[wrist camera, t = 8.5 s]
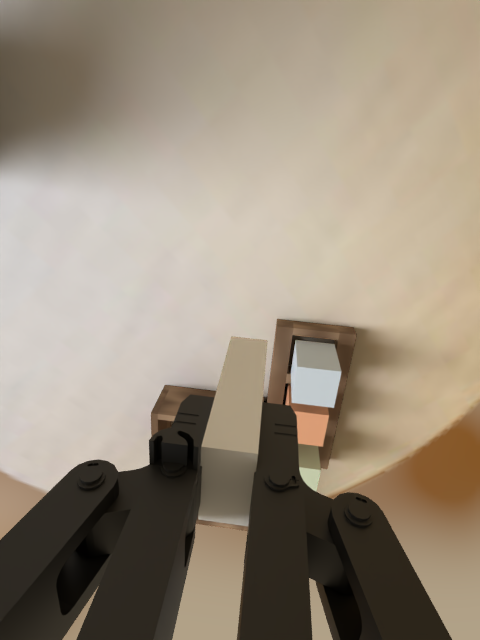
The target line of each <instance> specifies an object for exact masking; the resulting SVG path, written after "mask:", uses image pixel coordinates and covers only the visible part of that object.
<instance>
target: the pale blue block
mask: <svg viewBox="0 0 480 640" xmlns="http://www.w3.org/2000/svg"><path fill="white" fill-rule="evenodd" d="M341 372H342V371H341V368H340V364H339V360H338V356H337V352H336V348H335V344H329V343H320V342H311V341H302V340H296V341H295V347H294V354H293V361H292V367H291V397H292V403H298V404H306V405H314V406H323V407H331V408H334V405H335V401H336V396H337V391H338V386H339V382H340V377H341Z"/></svg>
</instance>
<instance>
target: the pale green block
mask: <svg viewBox="0 0 480 640" xmlns="http://www.w3.org/2000/svg"><path fill="white" fill-rule="evenodd" d="M298 452H299V470H300V475H301V477H302V479H303V481H304V482H305V483H306V484H307V485H308V486H309V487H310V488H311V489H313V490H314V491H317V486H318V481H319V477H320V472H321V467H320V458H319V450H318V446H313V445H306V444H298Z"/></svg>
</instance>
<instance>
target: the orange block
mask: <svg viewBox="0 0 480 640" xmlns="http://www.w3.org/2000/svg"><path fill="white" fill-rule="evenodd" d="M285 405H290V406H291V408H292V409H293V411H294V412H295V414H296V415H297V432H298V444H306V445H313V446H321V447H323V443H324V438H325V433H326V428H327V423H328V418H329V412H328V407H323V406H314V405H306V404H298V403H292V397H291V384H289V383H288V387H287V394H286V400H285Z"/></svg>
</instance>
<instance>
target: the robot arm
mask: <svg viewBox="0 0 480 640" xmlns="http://www.w3.org/2000/svg"><path fill="white" fill-rule="evenodd" d="M266 352H267V340H259V339H250V338H241V337H232V336H231V340H230V344H229V347H228V351H227V355H226V358H225V362H224V366H223V369H222V373H221V376H220V380H219V384H218V387H217V391H216V395H215V397H208V396H200V395H192V394H190V395H189V396H188V397H187V398H186V399H184V400H183V401H182V402H181V404H180V407H179V409H178V412H177V414H176V417H175V419H174V423H173V424H172V427H170V428H166V429H162V430H160V431H159V432H157V433H155V434H154V435H153V436H152V437H151V439H150V440H149V455H150V464H149V465H148V466H146V467H143V468H141V469H136V470H130V471H123V472H118V471H117V469H116V467H115V466H114V465H113V464H111V463H110V462H108V461H104V460H91V461H87V462H84V463H82V464H79V465H78V466H76V467H75V468H73V469H72V470H71V471H70V472H69V473H68V474H67V475H66V476H65V477H64V478H63V479H62V480H61V481H59V482H58V483H57V484H56V485H55V486H54V487H53V488H52V489H51V490H50V491H49V492H48V493H47V494H46V495H45V496H44V497H43V499H42V500H40V501H39V502H38V503H37V504H36V505H35V506H34V507H33V508H32V509H31V510H30V511H29V512H28V513H27V514H26V515H25V516H24V517H23V518H22V519H21V520H20V521H19V522H18V523H17V524H16V525H15V526H14V527H13V528H12V529H11V530H10V531H9V532H8V533H7V534H6V535H5V536H4V537H3V538H2V539H1V540H0V640H62V639H63V637H64V636H65V635H66V633H67V632H68V630H69V629H70V627H71V626H72V624H73V623H74V621H75V620H76V618H77V617H78V615H79V614H80V612H81V611H82V609H83V608H84V606H85V605H86V603H87V602H88V601H89V599H90V598H91V596H92V595H93V593H94V592H95V590H96V589H97V587H98V586H99V587H98V589H97V592H96V594H95V596H94V599H93V602H92V604H91V606H90V608H89V611H88V614H87V616H86V618H85V620H84V623H83V625H82V628H81V631H80V633H79V635H78V637H77V640H172V638H173V633H174V628H175V624H176V620H177V615H178V610H179V606H180V601H181V597H182V593H183V588H184V584H185V579H186V575H187V570H188V566H189V562H190V557H191V552H192V548H193V544H194V539H195V525H196V520H197V516H198V519H199V520H206V521H213V522H220V523H227V524H234V525H241V526H248V535H247V542H246V551H245V559H244V572H243V583H242V593H241V604H240V615H239V624H238V634H237V640H312V625H311V609H310V590H309V578H311V579H313V580H315V581H316V585H317V588H318V592H319V595H320V598H321V602H322V605H323V608H324V612H325V615H326V619H327V622H328V625H329V628H330V632H331V635H332V638H333V640H452V639H451V637H450V635H449V633H448V631H447V629H446V628H445V626H444V624H443V622H442V620H441V618H440V616H439V615H438V613H437V611H436V609H435V607H434V605H433V604H432V602H431V600H430V598H429V596H428V594H427V593H426V591H425V589H424V587H423V585H422V584H421V581H420V580H419V578H418V576H417V574H416V572H415V570H414V569H413V567H412V565H411V563H410V561H409V559H408V557H407V555H406V554H405V552H404V550H403V548H402V546H401V544H400V543H399V541H398V539H397V537H396V535H395V533H394V532H393V530H392V528H391V526H390V524H389V523H388V520H387V518H386V517H385V515H384V513H383V511H382V510H381V509H380V508H379V506H378V505H377V504H376V503H375V502H373V501H372V500H370V499H369V498H368V497H366V496H363V495H360V494H358V493H349V492H348V493H344V494H340V495H338V496H337V497H336V498H335V499H334V500H333V499H331V498H328V497H326V496H324V495H321V494H319V493H317V492H316V491H314V490H313V489H311V488H310V487H309V486H308V485H307V484H306V483H305V482H304V481H303V479H302V477H301V475H300V470H299V452H298V432H297V415H296V414H295V412H294V411H293V409H292V408H291V406H290V405H281V404H273V403H265V402H262V400H263V388H264V376H265V364H266ZM99 584H100V585H99Z"/></svg>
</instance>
